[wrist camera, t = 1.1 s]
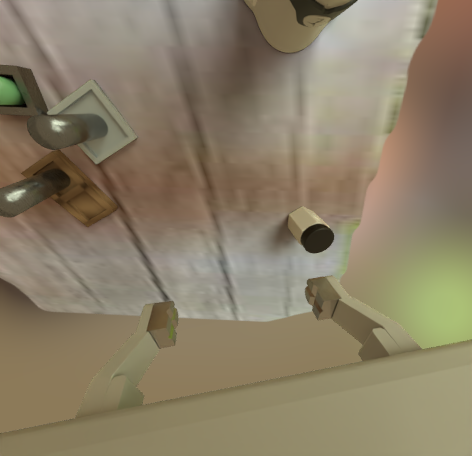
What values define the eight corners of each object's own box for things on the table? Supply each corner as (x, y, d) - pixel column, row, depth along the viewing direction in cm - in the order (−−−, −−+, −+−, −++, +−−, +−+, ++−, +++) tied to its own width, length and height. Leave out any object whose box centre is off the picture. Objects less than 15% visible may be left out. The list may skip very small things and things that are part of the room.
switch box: (-16, 65, 32) (-35, 62, 29) (30, 69, 33) (16, 65, 30) (9, 113, 36) (-6, 114, 33) (50, 115, 36) (39, 115, 34)
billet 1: (79, 112, 36) (19, 114, 25) (103, 113, 37) (56, 115, 25) (88, 137, 39) (37, 149, 27) (110, 138, 39) (70, 150, 28)
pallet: (29, 170, 41) (21, 173, 39) (59, 149, 40) (52, 151, 38) (92, 222, 50) (87, 227, 48) (118, 207, 48) (114, 210, 46)
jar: (318, 212, 58) (342, 234, 48) (303, 233, 61) (322, 257, 51) (296, 202, 55) (316, 223, 45) (281, 224, 58) (297, 248, 48)
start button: (-9, 76, 31) (-34, 72, 28) (18, 78, 32) (-3, 74, 29) (6, 104, 34) (-16, 104, 30) (31, 105, 34) (12, 105, 31)
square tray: (51, 112, 36) (46, 112, 35) (94, 80, 35) (90, 79, 33) (99, 162, 42) (96, 164, 41) (138, 137, 40) (135, 138, 39)
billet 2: (42, 168, 40) (-24, 192, 28) (65, 168, 41) (9, 192, 29) (52, 187, 43) (-6, 217, 31) (73, 187, 43) (24, 216, 31)
